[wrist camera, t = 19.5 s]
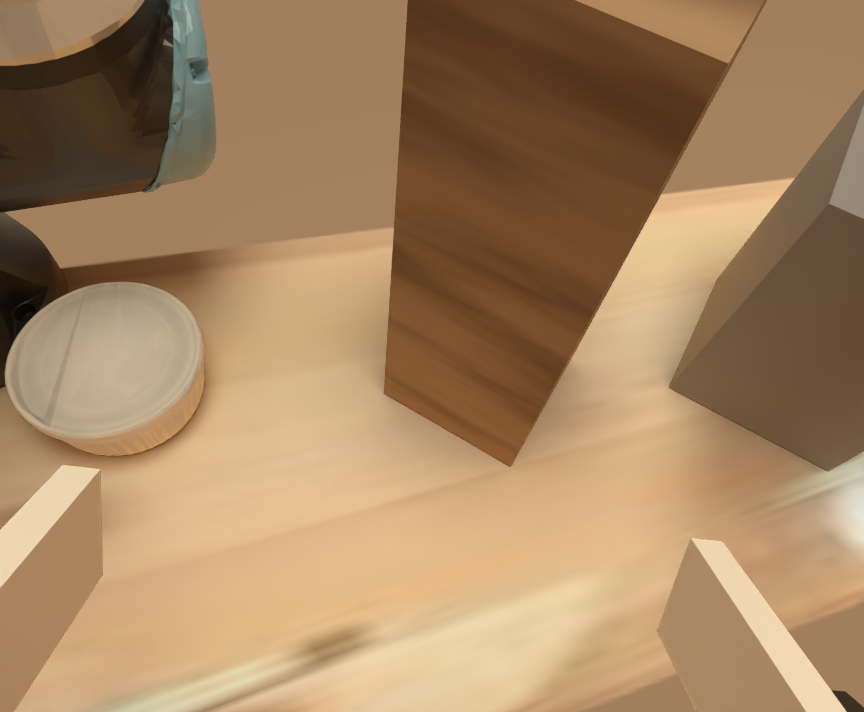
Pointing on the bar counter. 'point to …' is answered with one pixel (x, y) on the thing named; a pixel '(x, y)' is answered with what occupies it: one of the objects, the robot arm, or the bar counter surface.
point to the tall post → (532, 186)
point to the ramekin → (108, 368)
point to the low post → (794, 314)
